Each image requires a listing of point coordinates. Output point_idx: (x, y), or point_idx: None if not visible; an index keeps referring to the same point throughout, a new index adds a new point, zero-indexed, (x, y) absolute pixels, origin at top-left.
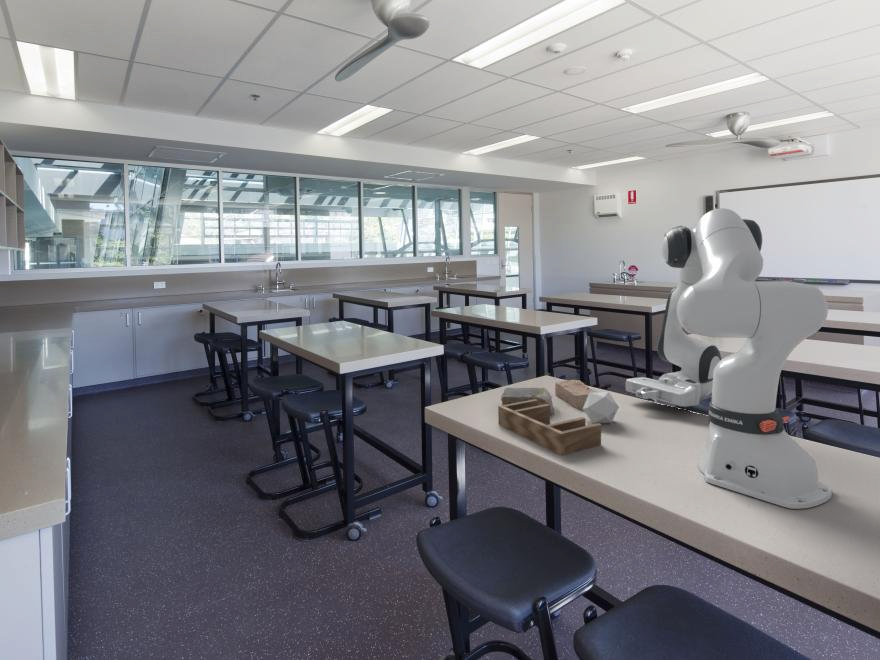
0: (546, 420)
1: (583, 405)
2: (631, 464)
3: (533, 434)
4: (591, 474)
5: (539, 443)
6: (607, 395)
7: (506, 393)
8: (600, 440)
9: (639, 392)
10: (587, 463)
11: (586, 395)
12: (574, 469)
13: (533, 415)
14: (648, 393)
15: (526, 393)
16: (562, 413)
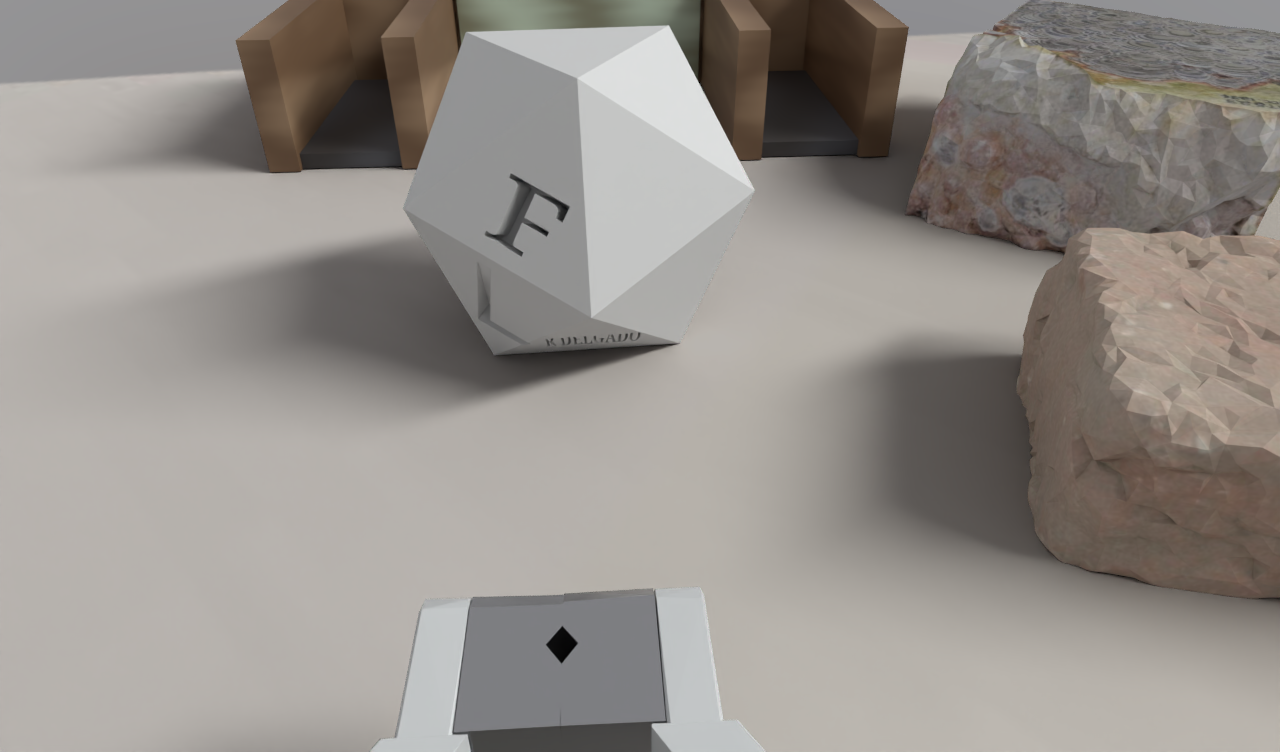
0: (728, 128)
1: (1034, 369)
2: (7, 156)
3: None
4: (134, 80)
5: None
6: (506, 65)
7: (1123, 14)
8: (264, 144)
9: (592, 592)
10: (200, 97)
11: (1081, 284)
12: (214, 72)
13: (717, 47)
14: (401, 742)
15: (1094, 40)
16: (906, 250)
